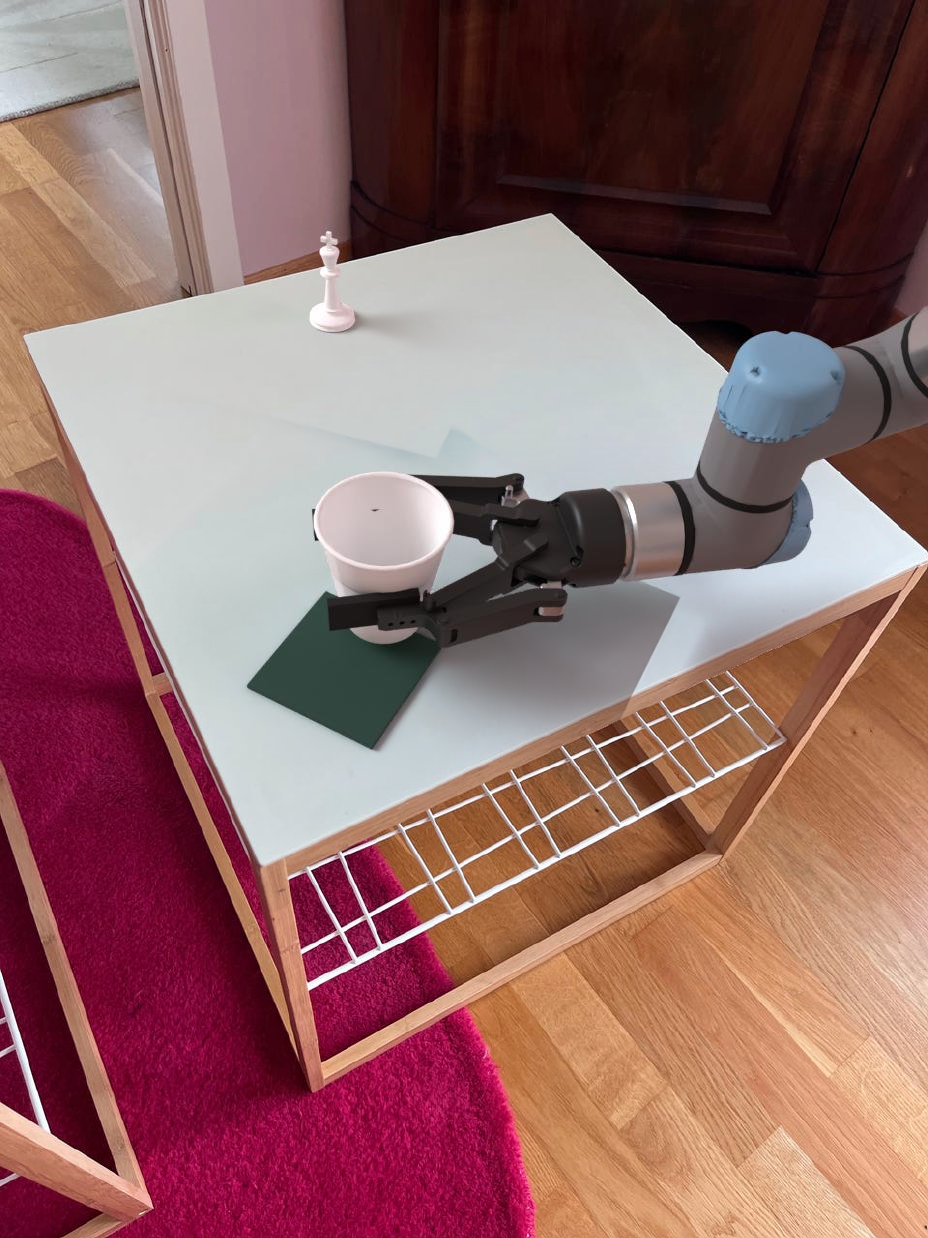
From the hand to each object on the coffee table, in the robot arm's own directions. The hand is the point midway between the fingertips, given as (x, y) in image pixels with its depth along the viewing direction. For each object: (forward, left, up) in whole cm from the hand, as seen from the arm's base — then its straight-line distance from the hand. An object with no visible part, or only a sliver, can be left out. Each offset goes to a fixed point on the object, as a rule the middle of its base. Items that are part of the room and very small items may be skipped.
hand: (320, 568), depth 70 cm
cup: (-4, -3, -7) cm, 8 cm away
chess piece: (+23, -37, -8) cm, 45 cm away
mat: (-3, +2, -8) cm, 9 cm away
